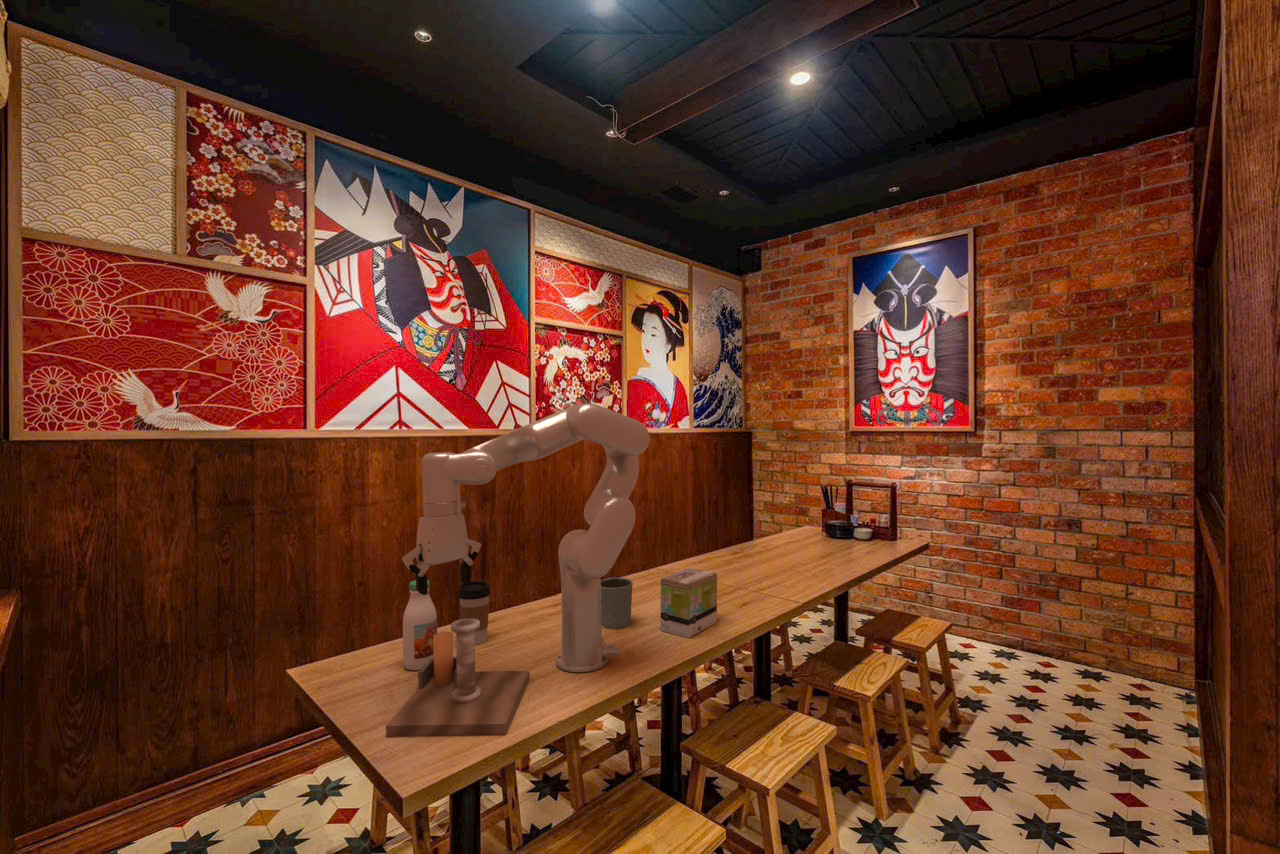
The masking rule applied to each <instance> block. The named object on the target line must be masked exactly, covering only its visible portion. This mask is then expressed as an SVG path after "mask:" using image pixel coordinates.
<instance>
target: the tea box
mask: <svg viewBox="0 0 1280 854" xmlns="http://www.w3.org/2000/svg"><path fill="white" fill-rule="evenodd" d="M659 621H660V626H659V627H660V628H659V629H660V631H662V632H666V633H668V634H671V635H677V636H679V637H684V638H686V639H687V638H688V639H690V638H692V637H693V636H694V635H696V634H698V633H700V632H702V631H703V630H705V629H707V628H709V627H711V626H712V625H715V624H717V621H718V573H717V572H715V571H709V570H704V569H703V570H702V569H697V568H691V567H688V568H686V569H683V570H680V571H677V572H675V573H672V574H670V575H666V576H664V577H661V578H660V620H659Z"/></svg>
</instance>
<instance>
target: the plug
mask: <svg viewBox="0 0 1280 854" xmlns="http://www.w3.org/2000/svg"><path fill="white" fill-rule="evenodd" d="M433 655H434V684H435V685H437V686H444V685H448V684H450V683H452V682H453V680H454V679H453V657H454V632H452V631H442V632H441V631H440V632H437V634H435V635H434V636H433Z"/></svg>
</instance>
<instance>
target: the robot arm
mask: <svg viewBox="0 0 1280 854" xmlns="http://www.w3.org/2000/svg"><path fill="white" fill-rule="evenodd" d="M583 440H586V441H590V442H593V443H595V444H599V445H601V446H602V447H603V449H604V451H605V457H606V462H605V468H604V470H603V472H602V474H601V477H600V479H599V480H598V482H597V484H596V486H595V488H594V489H593V491H592V493H591V495H590V497H589V498H588V500H587V502H586V503H585V506H584V509H583V517H584V519H585V521H586V523H587V524H588V525H589V527H588V530H586V529H574V530H571V531H569V532H568V533H566V534H565V535H564V536H563V537H562V538H561V541H560V543H559V546H558V556H557V557H558V564H559V573H560V583H561V587H560V588H561V640H562V641H561V644H562V645H561V647H562V648H561V649H562V651H561V652H559V653H558V654H557V655H556V658H555V664H556V666H557V667H558V668H559V669H561V670H563V671H565V672H569V673H570V672H571V673H588V672H592V671H596V670H599V669H602V668H604V667H605V666H606V665H607V663H608V662H609V656H617V657H618V656H621V646H617V645H616V644H615V643H611V644H610V643H609V644H607V643H605V638H604V637H602V635H603V634H602V630H603V629H602V627H603V626H602V625H601V580H602V579H601V578H602V577H604V576H606V575H607V574H608V573H609V572H610V571H611V570H612V568H613V566H614V565H615V563H616V562H617V560H618V558H619V556H620V554H621V552H622V550H623V548H624V547H625V544H626V543H627V541H628V539H629V537H630V535H631V533H632V531H633V529H634V525H635V522H636V509H635V507H634V504H633V502H632V501H631V500H630V496H631V494H632V492H633V490H634V488H635V486H636V484H637V481H638V478H639V473H640V461H639V457H638V456H639V455H641V454H643V453H645V451H646V450H647V449H648V447H649V444H650V440H651V437H650V433H649V430H648V429H647V427H646V426H645V425H644V424H643V423H642V422H640V421H638V420H637V419H634V418H631V417H630V416H626V415H624V414H621V413H619V412H616V411H614V410H612V409H609V408H607V407H604V406H602V405H598V404H596V403H589V402H587V403H581V404H574V405H571V406H569V407H566V408H564V409H562V410H559V411H557V412H555V413H552V414H550V415H548V416H545V417H543V418H540V419H538V420H535V421H533V422H530V423H529V424H526V425H523V426H521V427H519V428H517V429H514V430H512V431H510V432H507V433H505V434H502V435H500V436H498V437H496V438H495V437H494V438H492V439H489V440H488V441H486V442H483V443H481V444H478V445H476V446H473V447H471V448H469V449H466V450H465V451H463V452H462V453H461V452H460V453H455V452H449V451H448V452H444V451H443V452H430V453H427V454H424V456H423V457H422V459H421V470H422V471H421V473H422V474H421V475H422V476H421V477H422V497H423V499H422V500H423V501H422V504H423V516H422V517H419V521H418V526H417V533H416V547H414V548H413V549H412V550H410V551H409V552H408V553H406V554H404V556H402V558H401V560H402V562H403V564H404V565H405V566H406V568H407V570H409V571H410V572H411V573H412V574H413V575H415V580H416V589H417V591H418V592H419V593H420V594H422V595H427V593H428V589H427V580H428V576H427V575H426V572H427V571H428V569H430V567H431V566H435V565H440V564H441V565H442V564H446V563H451V562H454V561H455V562H456V561H460V562H461V564H460V566H459V571H460V583H461V584H463V583H465V584H470V582H471V579H472V566H473V564H474V561H475V560H476V558H478V555H479V551H480V549H481V547H482V543H481V542H478V541H476V540H474V539H473V540H472V538H471V539H470V538H468V531H467V530H468V529H467V524H466V520H465V516H464V514H463V513H462V508H466V507H467V505H466V501H462V500H461V491H460V490H461V488H460V484H461V485H475V486H476V485H477V486H479V485H486V484H487V483H489V482H491V481H492V480H493V479H494V478H495V476H496V474H497V471H500V470H503V469H505V468H507V467H511V466H513V465H516V464H520V463H524V462H531V461H533V462H534V461H536V460H540V459H543V458H545V457H547V456H549V455H552V454H554V453H556V452H558V451H560V450H563V449H565V448H567V447H569V446H572V445H574V444H576V443H579V442H580V441H583ZM469 546H471V551H469ZM415 558H416V562H418V563H417V565H416V564H415V563H414V562H413V560H414V559H415Z"/></svg>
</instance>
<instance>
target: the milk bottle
mask: <svg viewBox="0 0 1280 854" xmlns="http://www.w3.org/2000/svg"><path fill="white" fill-rule="evenodd" d="M408 585H409V587H408V588H409V591H408V592H409V593H410V596H409V599H408V603H407V604H406V607H405V609H404V612H403V615H402V616H403V618H402V662H403V668H404V669H406V670H409V671H420V670H421V669H422V668H423V667H424V666H425V664H426V663H427V662H428V661H429V660H430V659H431V658H432V657H434V655H433V636H434V635H435V634H437V633H438V618H437V617H438V616H437V610H436V607H435V605H434V602H433V600H432V598H431V595H430V586H431V582H430V580H429V579H427V589H428V593H427V595H422V594H420V593H419V592H418V591H417V589H416V579H415V580H412V581H410V582H409V584H408Z"/></svg>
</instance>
